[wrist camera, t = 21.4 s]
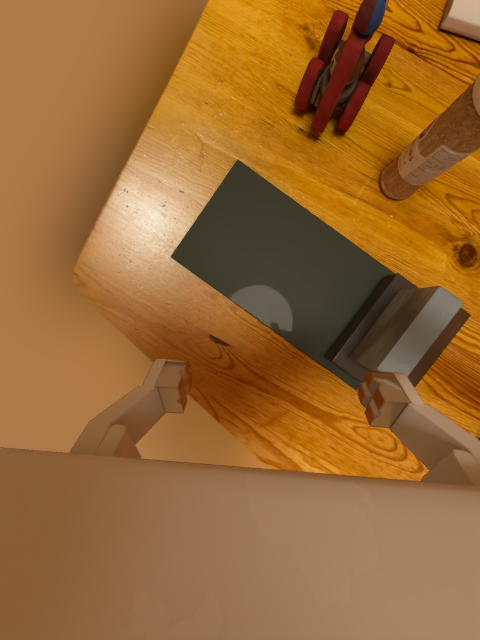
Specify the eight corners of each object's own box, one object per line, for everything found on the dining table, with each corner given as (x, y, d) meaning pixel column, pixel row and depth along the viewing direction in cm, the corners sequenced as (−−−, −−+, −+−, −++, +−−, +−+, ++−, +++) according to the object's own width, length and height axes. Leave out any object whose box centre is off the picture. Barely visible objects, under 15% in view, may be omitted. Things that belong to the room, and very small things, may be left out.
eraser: (357, 380, 29) (401, 407, 21) (324, 356, 29) (355, 375, 21) (418, 300, 28) (486, 296, 20) (384, 276, 28) (440, 262, 20)
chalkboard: (354, 389, 29) (356, 390, 29) (171, 257, 29) (170, 256, 28) (424, 297, 29) (427, 297, 28) (237, 161, 28) (237, 159, 28)
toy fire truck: (283, 129, 28) (307, 22, 18) (332, 30, 27) (386, -141, 17) (335, 155, 28) (389, 64, 18) (385, 57, 27) (472, -97, 17)
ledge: (377, 405, 29) (392, 416, 26) (358, 391, 29) (371, 400, 26) (447, 314, 29) (471, 314, 26) (427, 299, 29) (449, 298, 26)
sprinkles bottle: (386, 157, 28) (517, 16, 14) (422, 169, 28) (587, 40, 14) (372, 194, 28) (489, 89, 15) (408, 207, 28) (558, 113, 15)
